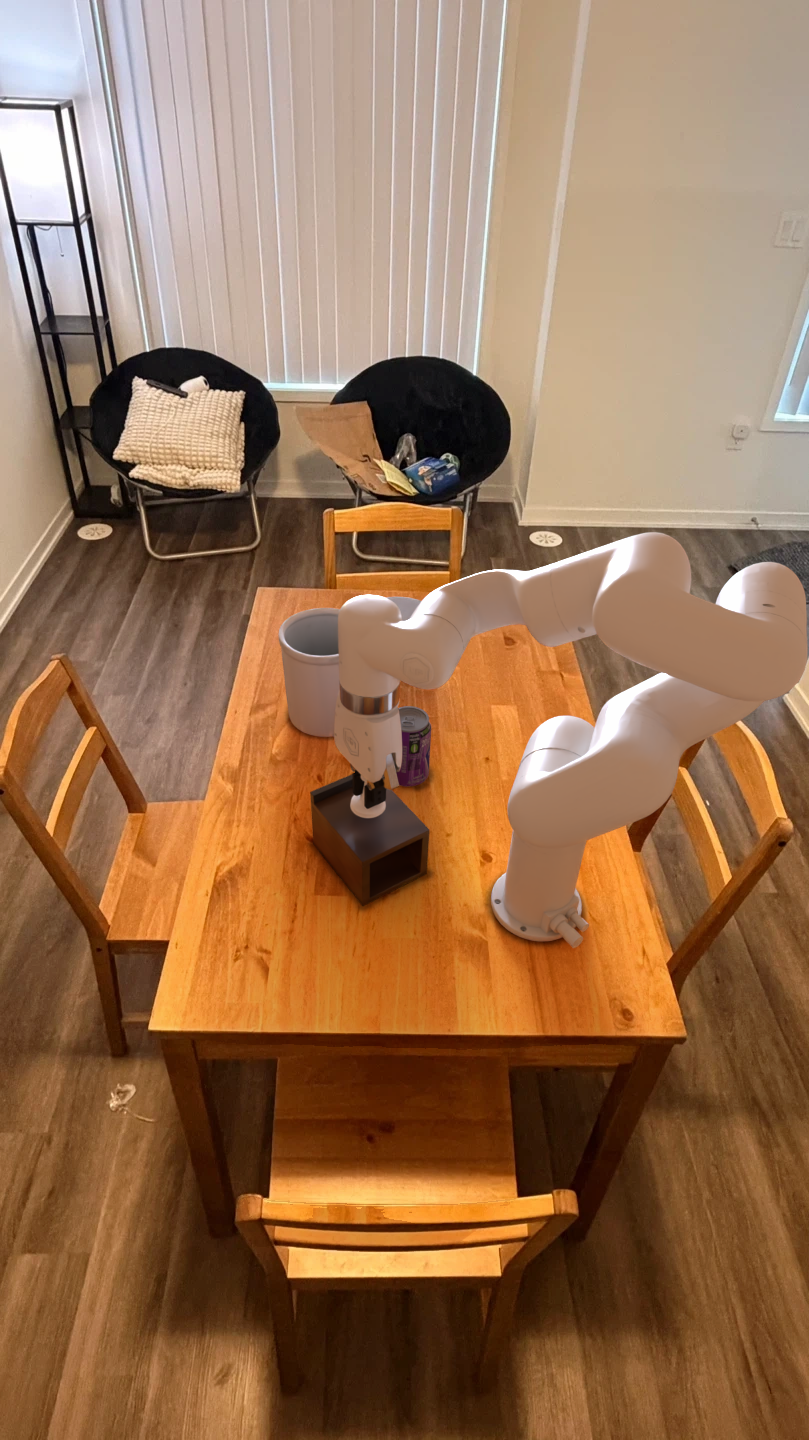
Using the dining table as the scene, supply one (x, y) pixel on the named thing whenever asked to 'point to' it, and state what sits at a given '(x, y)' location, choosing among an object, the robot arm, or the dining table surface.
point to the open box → (368, 841)
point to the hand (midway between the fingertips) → (369, 796)
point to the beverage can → (414, 746)
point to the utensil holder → (311, 669)
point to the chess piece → (361, 810)
